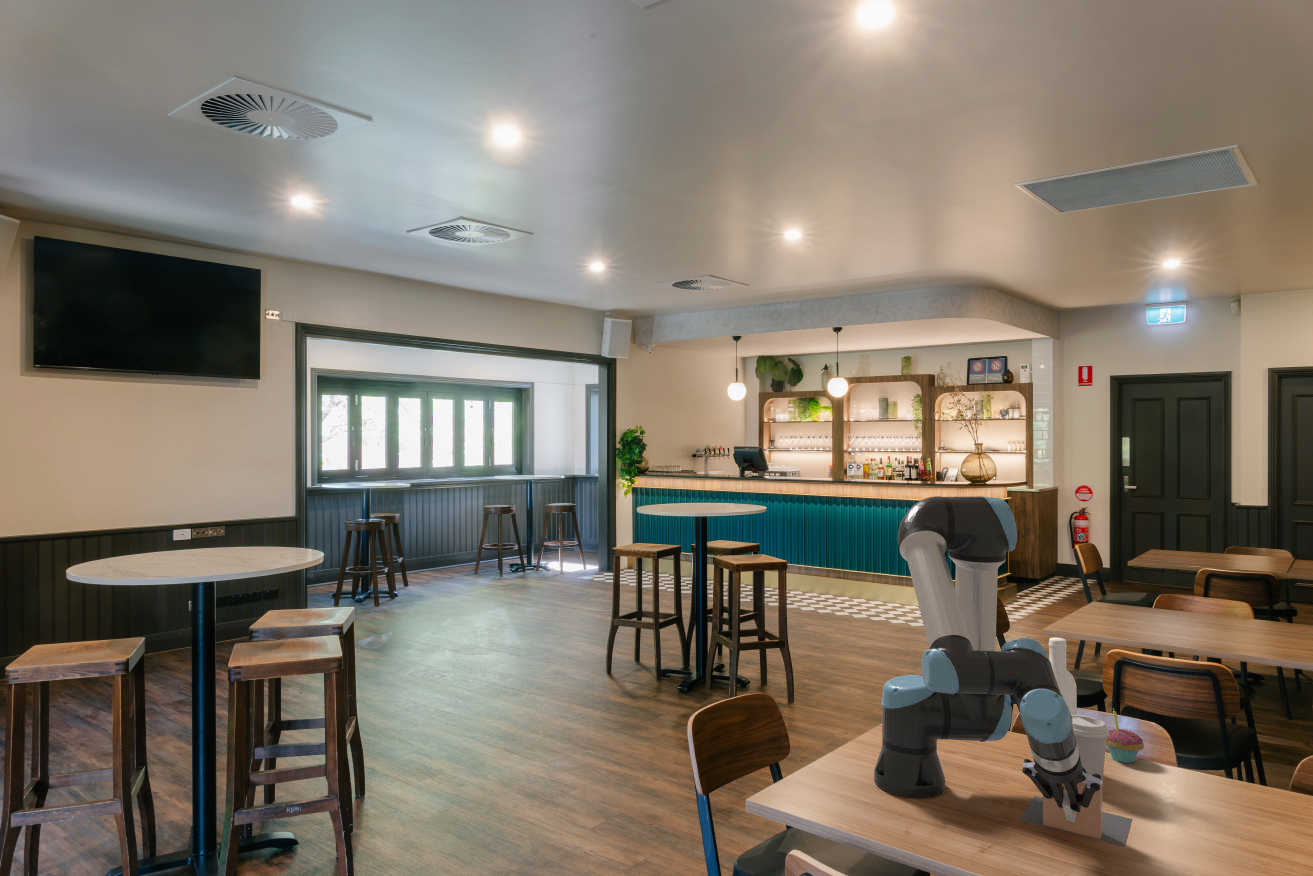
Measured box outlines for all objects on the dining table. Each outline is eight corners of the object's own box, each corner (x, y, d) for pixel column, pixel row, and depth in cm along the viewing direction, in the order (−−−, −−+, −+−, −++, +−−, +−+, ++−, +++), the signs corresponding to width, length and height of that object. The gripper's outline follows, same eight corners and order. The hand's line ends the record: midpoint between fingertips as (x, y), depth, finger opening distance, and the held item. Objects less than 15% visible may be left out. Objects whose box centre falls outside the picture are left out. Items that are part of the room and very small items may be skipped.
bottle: (1078, 763, 188) (1077, 637, 188) (1076, 775, 181) (1075, 644, 182) (1041, 757, 192) (1040, 633, 193) (1038, 767, 185) (1037, 640, 186)
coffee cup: (1116, 800, 168) (1116, 729, 168) (1068, 796, 170) (1067, 726, 170) (1100, 782, 177) (1100, 715, 178) (1055, 778, 179) (1054, 712, 179)
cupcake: (1101, 760, 190) (1100, 710, 190) (1104, 750, 197) (1104, 702, 197) (1143, 769, 185) (1142, 717, 185) (1145, 757, 192) (1144, 708, 192)
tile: (1043, 824, 155) (1042, 773, 155) (1045, 818, 158) (1045, 768, 158) (1100, 839, 149) (1100, 786, 150) (1102, 833, 152) (1102, 781, 152)
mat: (1020, 822, 157) (1020, 819, 157) (1034, 798, 168) (1034, 795, 168) (1124, 849, 147) (1124, 846, 147) (1132, 821, 158) (1132, 818, 158)
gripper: (1012, 764, 140) (1032, 823, 153) (1095, 783, 132) (1108, 844, 145) (1018, 726, 144) (1037, 787, 157) (1099, 742, 136) (1112, 804, 149)
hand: (1071, 814), depth 151 cm, fingers closed
